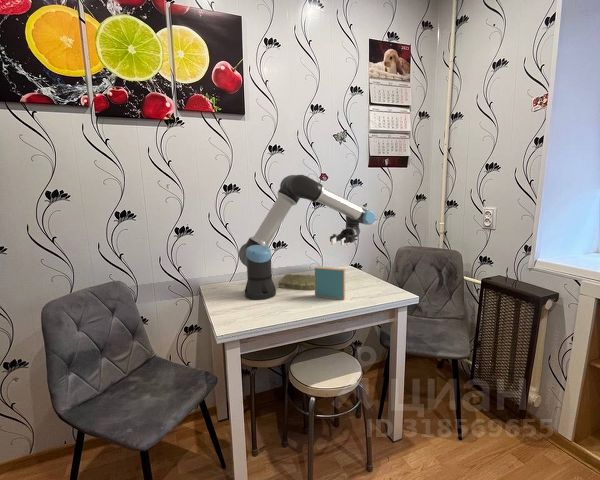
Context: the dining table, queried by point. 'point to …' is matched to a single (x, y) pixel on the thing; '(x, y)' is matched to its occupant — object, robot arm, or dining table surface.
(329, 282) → the standing tile
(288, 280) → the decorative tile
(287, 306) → the dining table surface
